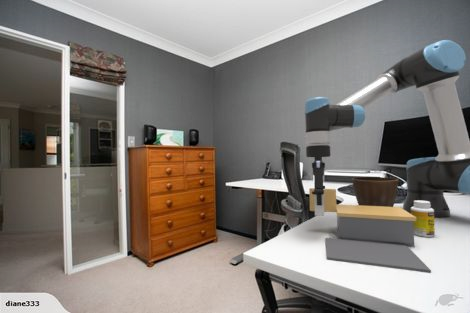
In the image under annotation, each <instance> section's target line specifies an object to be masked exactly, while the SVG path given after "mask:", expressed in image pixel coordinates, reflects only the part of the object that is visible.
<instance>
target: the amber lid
mask: <svg viewBox="0 0 470 313" xmlns="http://www.w3.org/2000/svg"><path fill="white" fill-rule="evenodd" d="M314 190H315V188H313V187H311V188H309V191H308V192H309V194H308V196H309V211H310V212H315V200H314V194H312V191H314ZM323 190H324V213H326V212H327V213H336V216H337V215H338V216H342V217H357V218H373V219H389V220H405V221H417V220H416V217H415V216H413V215H412V214H410V213H409V212H407V211H405V210H404V209H403V207H399V206H393V207H384V206H362V205H358V204H356V205H355V204H340V203H339V204H337V189H336V188H325V189H323Z"/></svg>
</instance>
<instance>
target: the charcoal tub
mask: <svg viewBox="0 0 470 313" xmlns="http://www.w3.org/2000/svg"><path fill="white" fill-rule="evenodd" d="M336 222H337V223H336V224H337V225H336V227H337V232H338V237H339V239H344V240H355V241H365V242H375V243H386V244H396V245H407V246H408V247H411V248H412V247H413V248H415V234H414V221H405V220H389V219H373V218H357V217H342V216H338V215H337V214H336Z"/></svg>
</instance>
